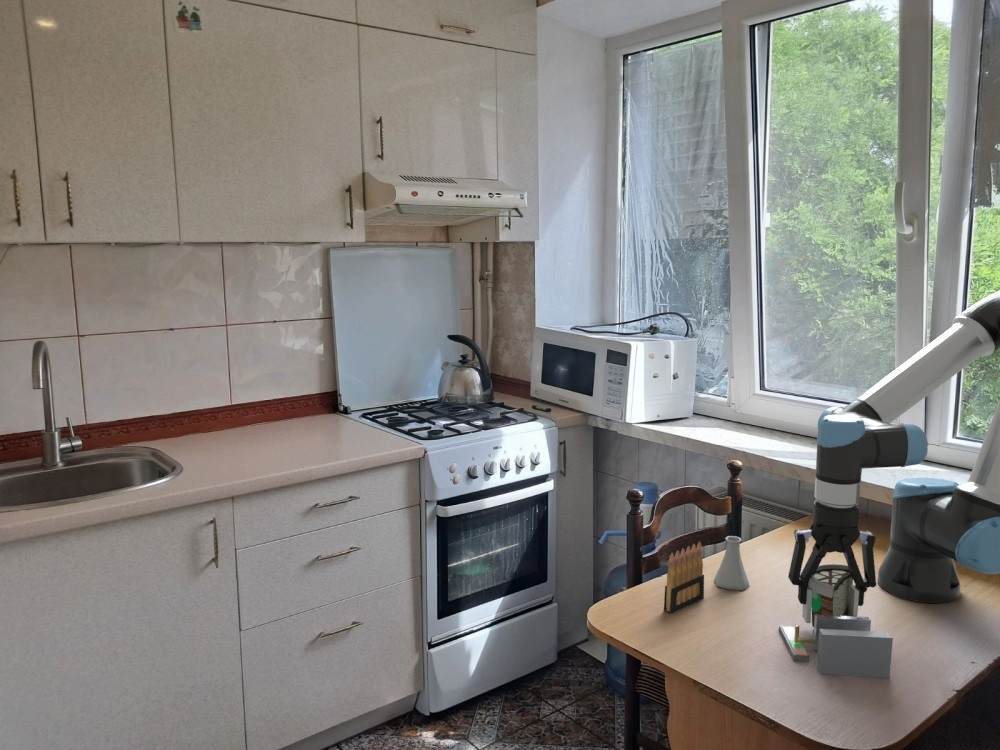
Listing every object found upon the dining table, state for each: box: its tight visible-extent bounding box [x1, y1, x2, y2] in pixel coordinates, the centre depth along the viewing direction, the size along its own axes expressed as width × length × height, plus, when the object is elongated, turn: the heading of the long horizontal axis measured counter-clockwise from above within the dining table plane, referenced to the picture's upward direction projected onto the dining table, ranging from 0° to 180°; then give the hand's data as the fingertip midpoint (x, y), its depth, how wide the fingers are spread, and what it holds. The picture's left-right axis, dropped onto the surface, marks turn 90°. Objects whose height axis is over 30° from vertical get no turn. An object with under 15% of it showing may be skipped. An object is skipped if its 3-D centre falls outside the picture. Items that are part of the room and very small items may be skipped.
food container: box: [808, 563, 854, 628], centre depth 147 cm, size 12×6×10 cm, turn 139°
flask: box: [713, 535, 750, 591], centre depth 167 cm, size 7×7×10 cm
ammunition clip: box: [663, 541, 705, 615], centre depth 158 cm, size 11×2×12 cm, turn 131°
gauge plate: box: [794, 615, 872, 651], centre depth 139 cm, size 12×1×6 cm, turn 84°
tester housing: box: [778, 624, 894, 679], centre depth 139 cm, size 14×15×7 cm
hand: (829, 620), depth 148 cm, fingers closed on food container, 7 cm apart
